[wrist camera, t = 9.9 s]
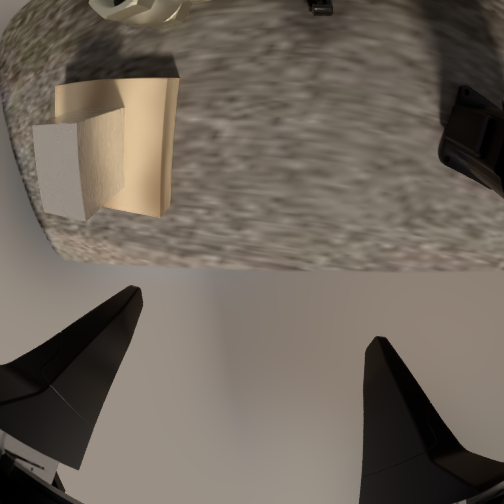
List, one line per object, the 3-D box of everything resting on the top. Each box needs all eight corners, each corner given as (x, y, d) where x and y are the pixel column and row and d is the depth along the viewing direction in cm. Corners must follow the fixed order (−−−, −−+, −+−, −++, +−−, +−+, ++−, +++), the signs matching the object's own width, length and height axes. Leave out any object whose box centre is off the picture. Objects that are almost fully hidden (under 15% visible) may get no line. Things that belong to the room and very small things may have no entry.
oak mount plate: (179, 78, 15) (167, 78, 14) (170, 205, 21) (160, 217, 20) (71, 82, 15) (55, 86, 14) (75, 189, 21) (62, 199, 20)
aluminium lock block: (125, 107, 15) (76, 123, 11) (124, 187, 18) (85, 221, 14) (81, 108, 15) (32, 125, 11) (84, 181, 18) (44, 212, 14)
